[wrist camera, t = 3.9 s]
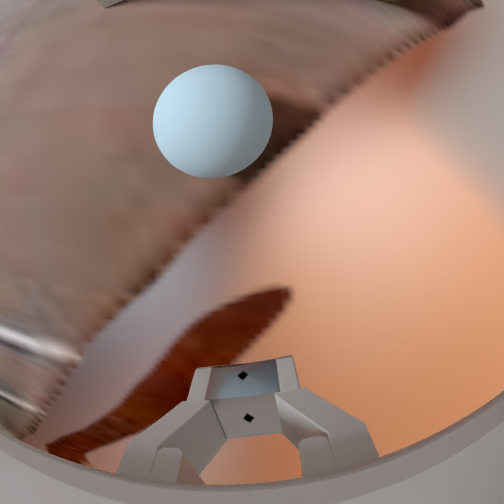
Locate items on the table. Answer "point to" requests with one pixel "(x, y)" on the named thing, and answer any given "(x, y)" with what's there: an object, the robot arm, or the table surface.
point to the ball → (212, 121)
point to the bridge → (108, 2)
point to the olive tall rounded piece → (389, 1)
